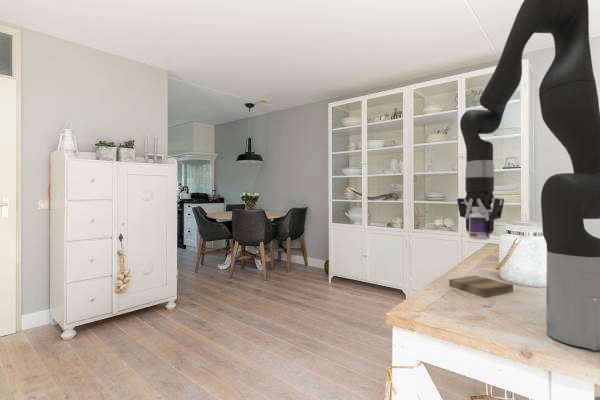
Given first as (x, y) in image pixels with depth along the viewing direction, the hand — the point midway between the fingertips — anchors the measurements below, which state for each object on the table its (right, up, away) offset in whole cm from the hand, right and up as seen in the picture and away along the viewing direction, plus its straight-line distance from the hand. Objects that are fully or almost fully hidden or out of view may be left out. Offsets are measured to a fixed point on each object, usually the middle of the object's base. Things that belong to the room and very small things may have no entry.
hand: (479, 232), depth 96 cm
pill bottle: (0, -2, 0) cm, 2 cm away
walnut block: (0, -18, 0) cm, 18 cm away
